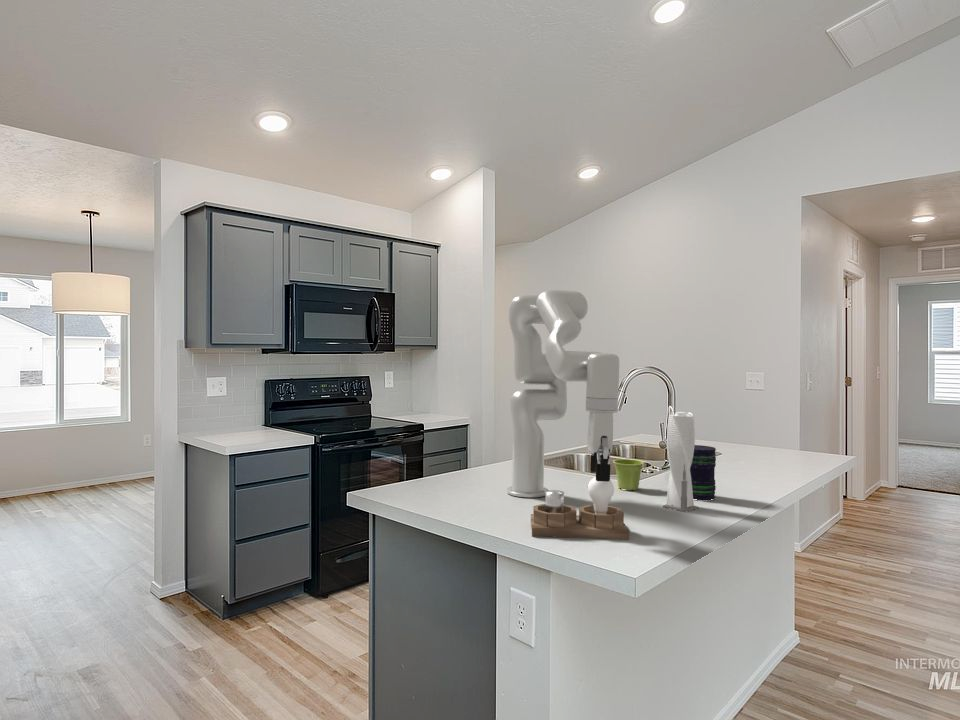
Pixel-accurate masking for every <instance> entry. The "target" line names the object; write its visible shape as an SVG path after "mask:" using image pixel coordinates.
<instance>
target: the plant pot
mask: <svg viewBox="0 0 960 720" xmlns="http://www.w3.org/2000/svg"><path fill="white" fill-rule="evenodd" d="M612 463H613V464H614V468H615V473H616V480H617V488H618V487H619V488H618V489H620V488H621V489H626V490H630V491H637V490H636V489H638V490H639V486H640V485H639V484H640V479H641V473H642V469H643V465H644V464H645V463H644V461H642V460H638V459H628V458H627V459H622V458H620V459H615V460H613V461H612ZM621 489H620V490H621ZM626 490H625V491H626Z"/></svg>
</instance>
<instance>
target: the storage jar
mask: <svg viewBox="0 0 960 720" xmlns="http://www.w3.org/2000/svg"><path fill="white" fill-rule="evenodd" d="M716 450H717V449H716V447H714V446H709V445H700V444H699V445H698V444H697V445H696V444H695V445H694V453H693V459H692V463H691V467H690V474H691V481H692V491H693V499H697V500H696V501H698V500H711V499H714V498H715V499H716V496H715V494H716V489H717V487H716V480H715V479H716V478H715V475H716V474H715V473H716V472H715V470H716V469H715V467H716V464H717V463H716V461H717V456H716ZM715 499H714V500H715ZM711 501H712V500H711Z"/></svg>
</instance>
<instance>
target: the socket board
mask: <svg viewBox="0 0 960 720" xmlns="http://www.w3.org/2000/svg"><path fill="white" fill-rule="evenodd" d="M532 512H533V513H530V529H531V530H532V531H531V537H536V536H553V537H552V538H570V537H588V538H587V539H604V538H607V539H608V540H610V539H611V540H630V530H629V528H628V527H627V525H626V524H625V522H624V519H625V514H624V513H625V512H624V511H623V509H622V508H621V507H616V506H612V505H609V504H608V510H607V512H606V514H595V511H594V504H587V505H583V506H579V507H578V513H577V509H576V507H575V506H572V505H567V504H564V513H547V512H545V503H540V504H537V505H534V506H533V511H532ZM577 514H578V515H577ZM554 536H556V537H554Z"/></svg>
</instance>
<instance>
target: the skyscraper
mask: <svg viewBox="0 0 960 720" xmlns="http://www.w3.org/2000/svg"><path fill="white" fill-rule="evenodd" d="M671 412H672V414H671ZM694 419H695V417H694V414H693V413H692V412H691V411H689V412H685V411H676V412H675V410H674V409H673V406H671V405H669V406H668V419H667V428H666V450H667V458H668V464H669V469H670V471H669V477H668V485H667V486H668V487H667V492H666V493H667V494H666V504H663V505H662V508H664V507H667V508H666V509H669V508H671V509H670V510H673V509H676V510H675V511H678V510H680V511H679V512H682V511H685V512H684V513H686V511H688V512H690V511H689V510H691V511H694V510H693V509H695V510H697V509H696V508H698V509H699V508H700V506H699V505H698V506H697V505H694V500H693V491H692V481H691V474H690V467H691V463H692V459H693V453H694V445H696V444H695V443H696V442H695V441H696V440H695V439H696V437H695V436H696V433H695V432H696V431H695V420H694Z"/></svg>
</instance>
